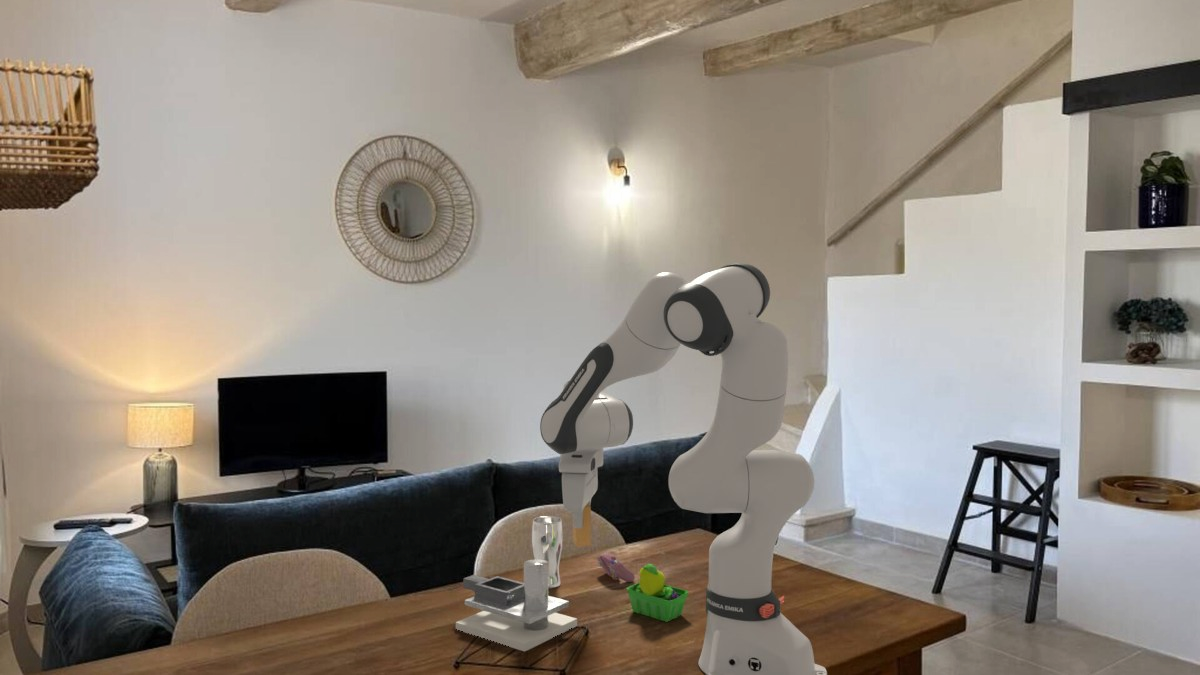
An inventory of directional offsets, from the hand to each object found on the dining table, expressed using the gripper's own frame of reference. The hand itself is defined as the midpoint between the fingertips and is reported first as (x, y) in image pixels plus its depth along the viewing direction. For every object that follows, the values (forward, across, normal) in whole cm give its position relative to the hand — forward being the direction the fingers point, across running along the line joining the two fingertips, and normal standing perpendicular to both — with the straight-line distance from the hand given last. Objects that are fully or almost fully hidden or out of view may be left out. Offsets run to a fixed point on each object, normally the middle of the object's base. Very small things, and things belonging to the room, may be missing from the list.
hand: (581, 523), depth 185 cm
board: (+19, +9, -11) cm, 24 cm away
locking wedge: (+4, 0, 0) cm, 4 cm away
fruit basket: (+20, -3, +15) cm, 25 cm away
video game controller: (+20, -25, +4) cm, 32 cm away
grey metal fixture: (+18, +8, -13) cm, 24 cm away
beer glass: (+20, -17, -11) cm, 28 cm away
